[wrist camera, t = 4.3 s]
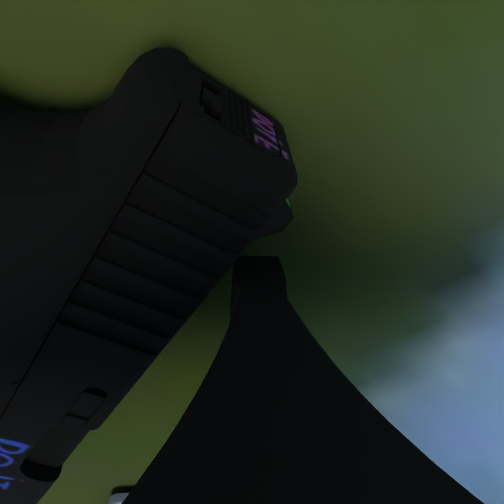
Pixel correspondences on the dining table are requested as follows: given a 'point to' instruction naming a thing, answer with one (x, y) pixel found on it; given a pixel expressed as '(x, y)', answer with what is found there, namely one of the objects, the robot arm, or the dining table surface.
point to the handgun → (118, 245)
